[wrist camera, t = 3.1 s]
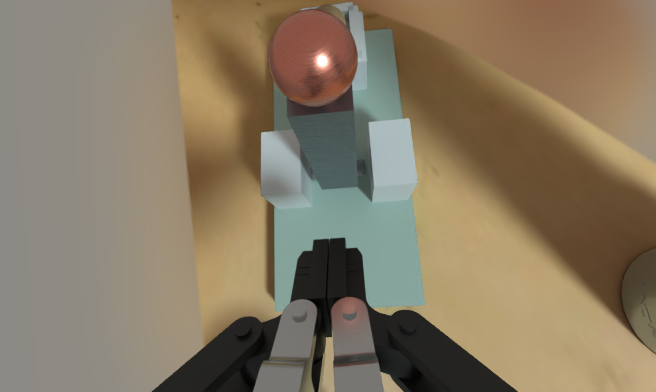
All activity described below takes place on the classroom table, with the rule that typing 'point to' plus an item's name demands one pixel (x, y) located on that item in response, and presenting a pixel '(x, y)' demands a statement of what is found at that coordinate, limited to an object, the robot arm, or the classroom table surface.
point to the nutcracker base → (355, 202)
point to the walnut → (333, 11)
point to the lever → (319, 92)
